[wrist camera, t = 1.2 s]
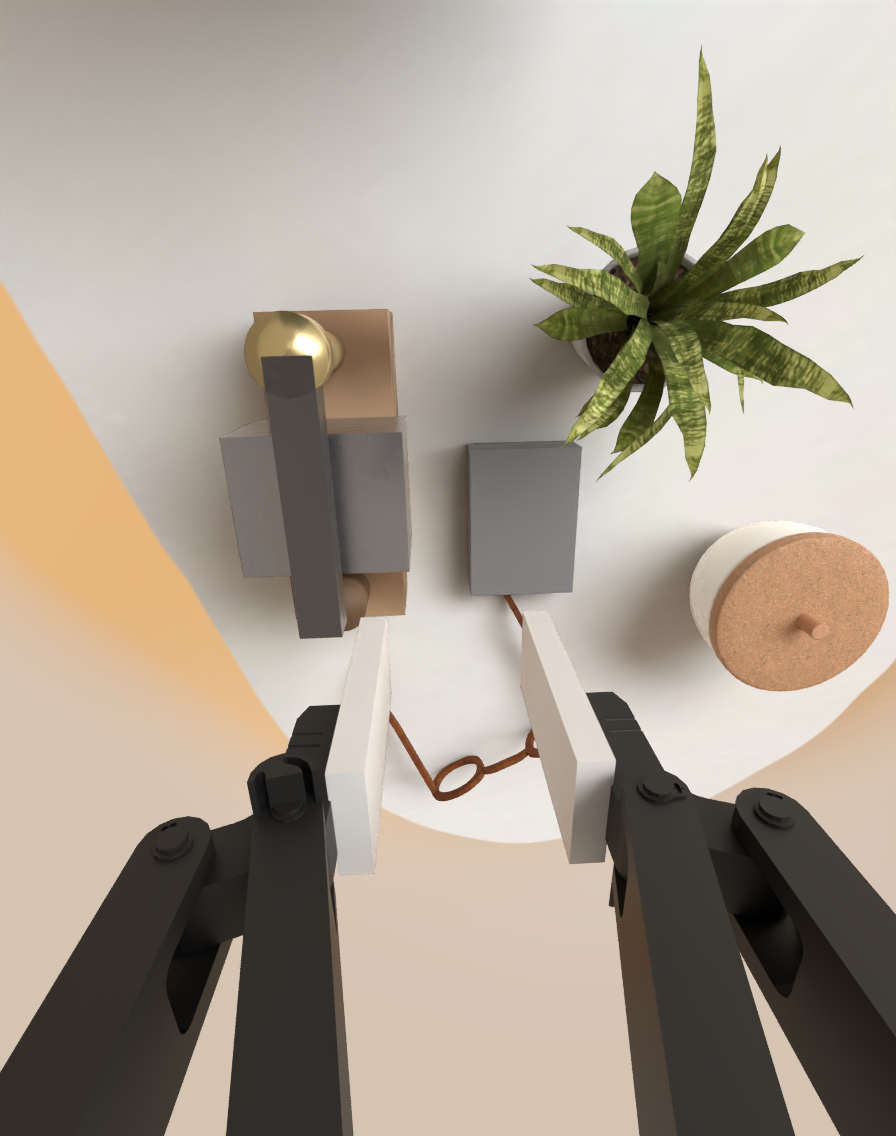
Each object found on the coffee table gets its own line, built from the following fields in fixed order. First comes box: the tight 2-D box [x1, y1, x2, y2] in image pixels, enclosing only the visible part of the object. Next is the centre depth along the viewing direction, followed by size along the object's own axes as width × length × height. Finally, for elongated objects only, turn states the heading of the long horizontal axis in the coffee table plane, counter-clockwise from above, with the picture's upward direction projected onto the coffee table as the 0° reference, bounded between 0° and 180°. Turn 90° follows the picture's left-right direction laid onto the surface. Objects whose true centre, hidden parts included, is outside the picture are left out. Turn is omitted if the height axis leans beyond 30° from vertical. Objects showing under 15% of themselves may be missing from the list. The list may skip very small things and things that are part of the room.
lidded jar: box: [689, 520, 889, 691], centre depth 37 cm, size 11×11×9 cm
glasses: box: [389, 595, 540, 801], centre depth 43 cm, size 13×13×5 cm
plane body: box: [253, 309, 407, 631], centre depth 32 cm, size 18×7×12 cm, turn 1°
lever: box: [244, 311, 347, 639], centre depth 25 cm, size 14×3×2 cm, turn 1°
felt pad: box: [467, 441, 582, 596], centre depth 38 cm, size 10×7×2 cm
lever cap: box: [219, 416, 412, 577], centre depth 30 cm, size 7×8×6 cm
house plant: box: [531, 46, 864, 482], centre depth 27 cm, size 14×14×16 cm
